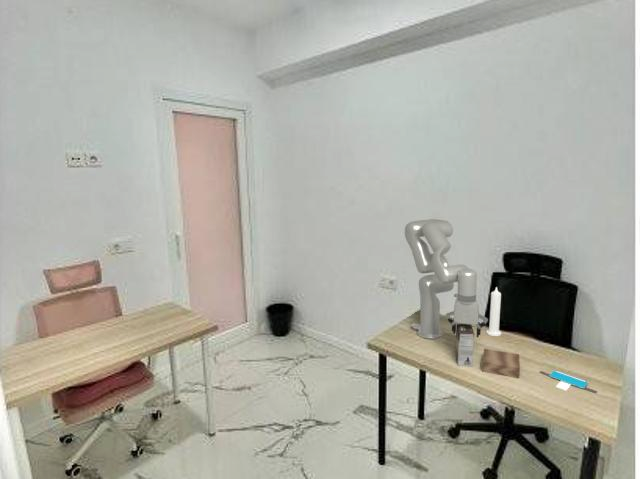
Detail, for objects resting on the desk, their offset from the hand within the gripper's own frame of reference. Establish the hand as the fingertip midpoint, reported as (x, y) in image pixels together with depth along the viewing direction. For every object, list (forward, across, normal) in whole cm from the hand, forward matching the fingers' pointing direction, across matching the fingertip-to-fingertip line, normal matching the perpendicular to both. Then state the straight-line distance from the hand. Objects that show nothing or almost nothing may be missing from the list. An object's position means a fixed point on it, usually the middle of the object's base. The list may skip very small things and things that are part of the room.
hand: (465, 334), depth 169 cm
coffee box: (+13, -1, +1) cm, 13 cm away
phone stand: (+15, +38, -1) cm, 41 cm away
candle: (+13, +10, +34) cm, 38 cm away
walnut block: (+14, +14, +1) cm, 20 cm away
